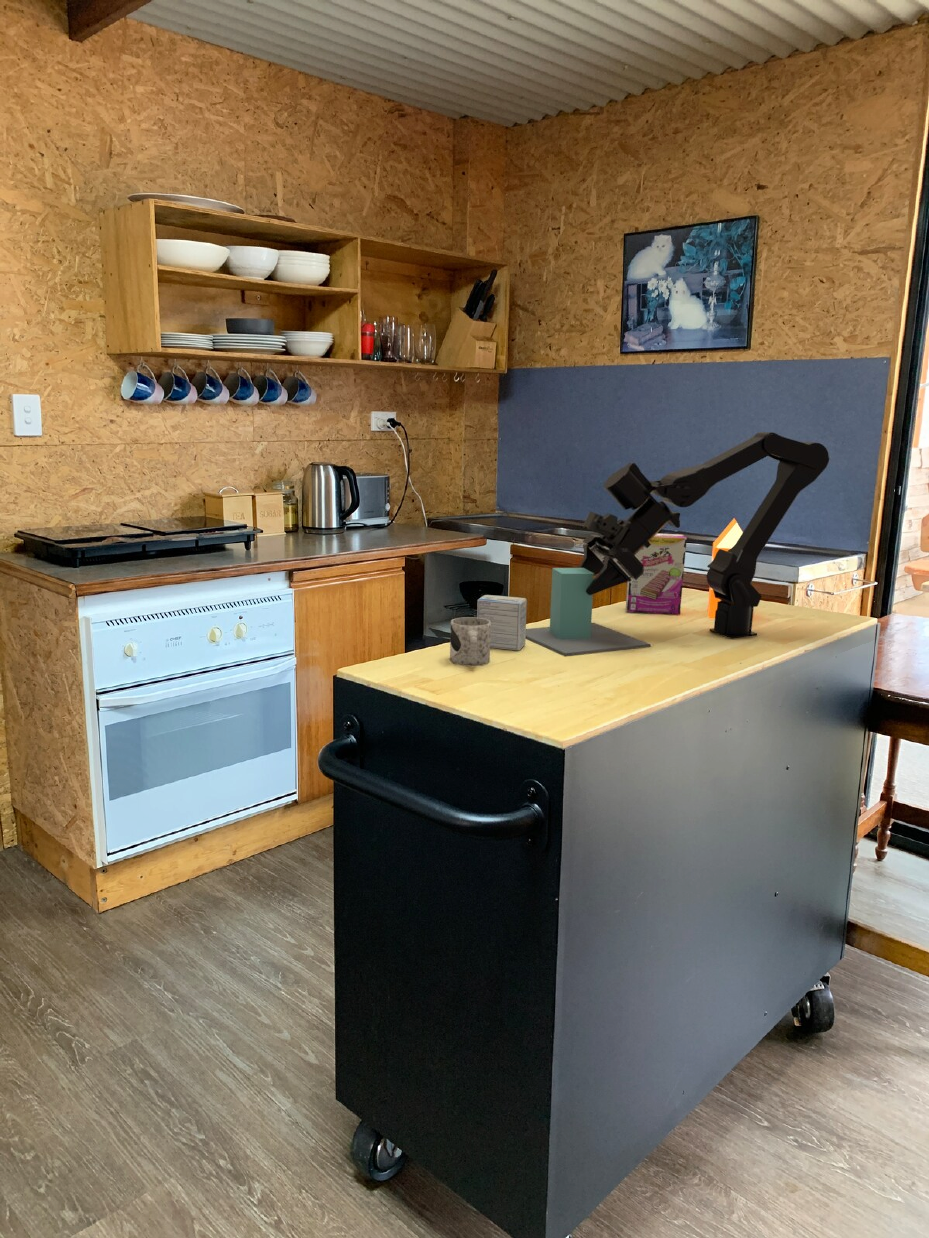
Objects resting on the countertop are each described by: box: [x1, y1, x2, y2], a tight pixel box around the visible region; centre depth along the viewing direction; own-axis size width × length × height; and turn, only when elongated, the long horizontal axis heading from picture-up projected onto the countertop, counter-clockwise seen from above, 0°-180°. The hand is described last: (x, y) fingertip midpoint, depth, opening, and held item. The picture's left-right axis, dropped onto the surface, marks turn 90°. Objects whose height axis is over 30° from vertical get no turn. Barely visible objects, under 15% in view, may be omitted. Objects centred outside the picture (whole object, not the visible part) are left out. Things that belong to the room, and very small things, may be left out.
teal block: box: [549, 567, 595, 639], centre depth 170 cm, size 6×6×12 cm
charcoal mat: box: [526, 622, 651, 657], centre depth 170 cm, size 18×18×1 cm
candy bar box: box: [625, 533, 687, 616], centre depth 194 cm, size 11×5×16 cm, turn 84°
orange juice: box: [707, 517, 744, 620], centre depth 192 cm, size 8×9×20 cm
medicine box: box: [476, 594, 528, 651], centre depth 163 cm, size 8×4×9 cm, turn 71°
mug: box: [449, 616, 491, 667], centre depth 152 cm, size 10×7×7 cm, turn 4°
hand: (579, 588), depth 170 cm, fingers open, 9 cm apart
